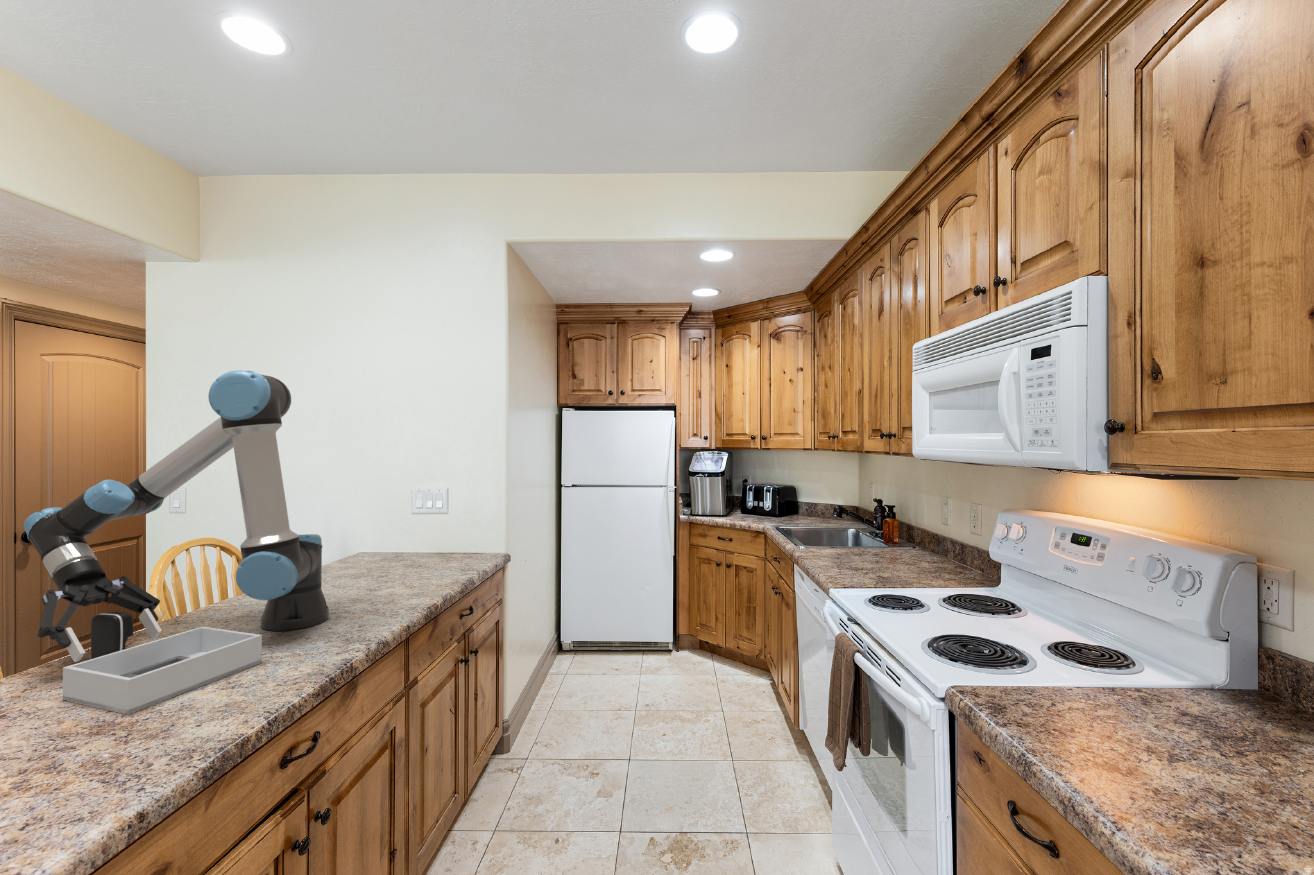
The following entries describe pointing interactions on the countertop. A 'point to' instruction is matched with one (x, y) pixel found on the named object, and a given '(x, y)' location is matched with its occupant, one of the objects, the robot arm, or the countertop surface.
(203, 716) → the countertop surface
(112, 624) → the battery charger
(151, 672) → the bin
